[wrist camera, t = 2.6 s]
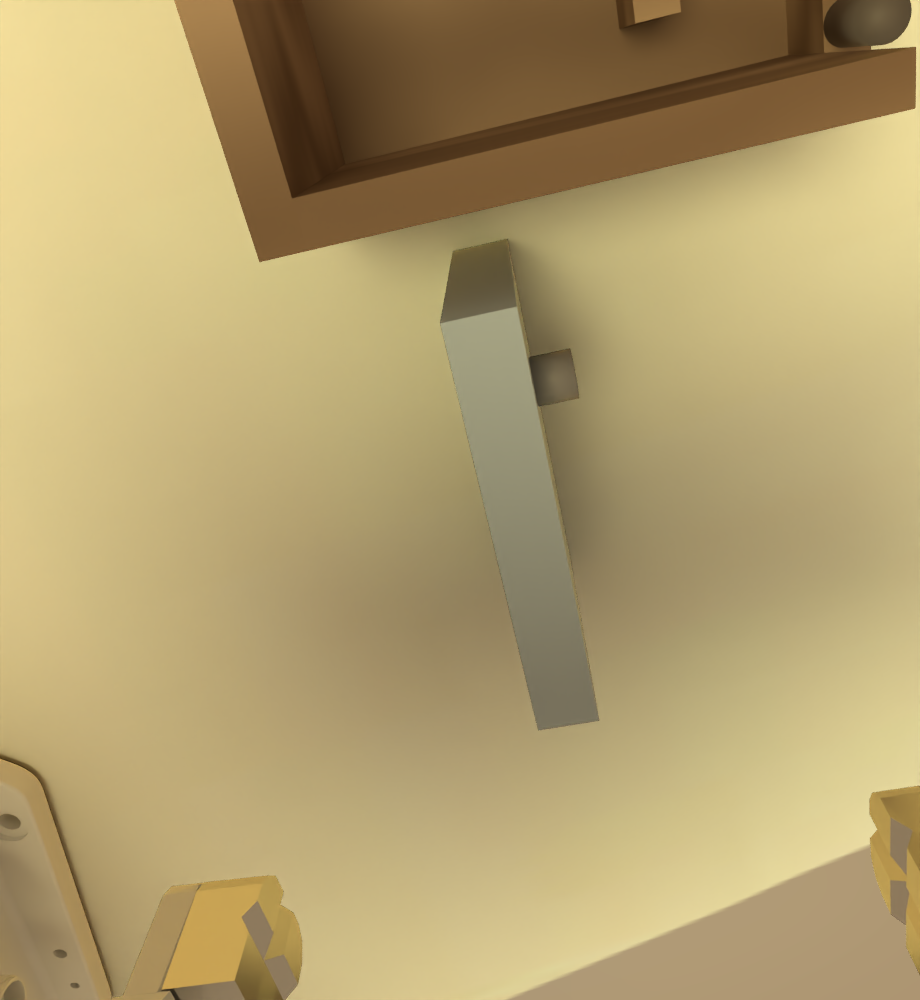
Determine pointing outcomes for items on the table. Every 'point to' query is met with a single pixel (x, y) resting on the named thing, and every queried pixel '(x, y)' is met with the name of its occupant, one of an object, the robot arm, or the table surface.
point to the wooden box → (514, 97)
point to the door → (519, 474)
